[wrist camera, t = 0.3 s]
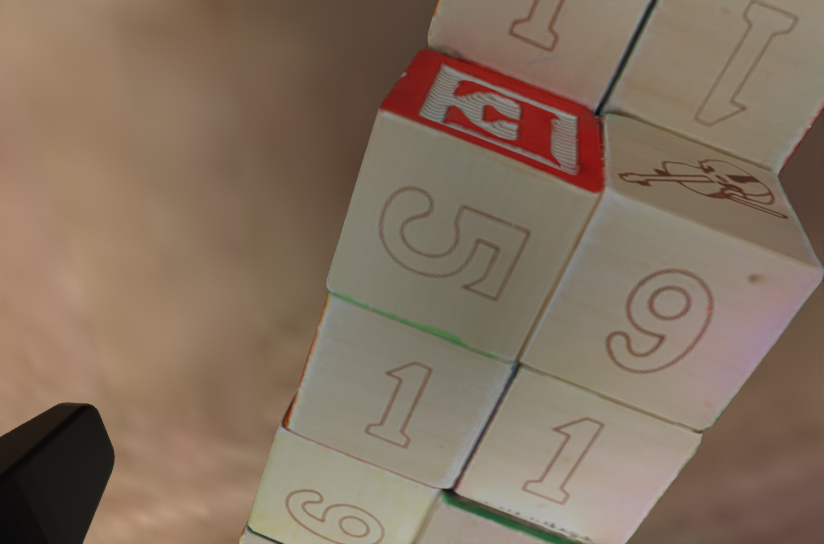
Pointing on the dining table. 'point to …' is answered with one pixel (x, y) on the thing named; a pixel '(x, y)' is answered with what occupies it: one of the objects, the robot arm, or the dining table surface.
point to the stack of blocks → (551, 272)
